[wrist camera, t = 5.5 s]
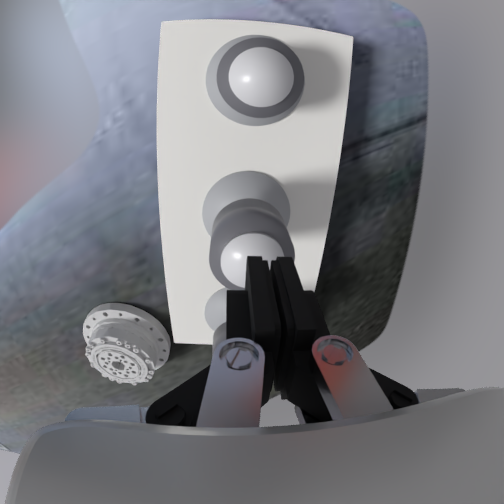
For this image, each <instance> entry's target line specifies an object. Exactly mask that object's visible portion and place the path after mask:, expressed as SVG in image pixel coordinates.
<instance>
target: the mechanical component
mask: <svg viewBox="0 0 504 504" xmlns="http://www.w3.org/2000/svg"><path fill="white" fill-rule="evenodd" d="M83 335H84V338H85V341H86V343H87V347H86V354H85V355H86V356H87V357H88V359H89V361H90V362H91V367H93V368H96V369H97V370H98V371H100V372H101V373H102V376H103V377H109V380H111V381H114V380H117V383H120V384H121V383H122V382H126V383H132V384H133V385H137V383H140V382H144V381H145V382H148V381H149V379H151V378H152V376H153V374H154V370H156V369H158V368H160V367H161V366H163V365H164V364H165V362H166V361H167V360H168V356H169V352H170V346H171V343H170V337H169V335H168V333H167V331H166V329H165V328H164V326H163V325H162V324H161V323H160V322H159V321H158V320H157V319H156V318H154V317H153V316H152V315H150V314H149V313H147V312H146V311H144V310H141V309H139V308H136V307H134V306H132V305H127V304H122V303H106V304H101V305H99V306H97V307H95V308H94V309H93V310H92V311H91V312H90V313H89V314H88V315H87V318H86V320H85V322H84V325H83Z"/></svg>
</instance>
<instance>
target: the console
mask: <svg viewBox="0 0 504 504" xmlns="http://www.w3.org/2000/svg"><path fill="white" fill-rule="evenodd" d="M257 37H264V38H270V39H274V40H277V41H279V42H281V43H283V44H285V45H286V46H288V47H289V48H290V49H291V50H292V51H293V52H294V53H295V54H296V55H297V57H298V58H299V60H300V62H301V64H302V67H303V71H304V86H303V89H302V92H301V94H300V97H299V98H298V100H297V101H296V102H295V104H294V105H293V106H292V107H290V108H289V109H288V110H286V111H285V112H283V113H281V114H279V115H276V116H273V117H269V118H253V117H249V116H245V115H243V114H241V113H239V112H237V111H235V110H234V109H232V108H231V107H230V106H229V105H228V104H227V103H226V102H225V101H224V99H223V98H222V96H221V94H220V92H219V89H218V86H217V69H218V65H219V63H220V61H221V59H222V57H223V55H224V54H225V53H226V52H227V51H228V50H229V49H230V48H231V47H232V46H234V45H235V44H237V43H239V42H241V41H243V40H246V39H250V38H257ZM352 49H353V37H352V36H348V35H344V34H339V33H335V32H330V31H325V30H320V29H314V28H308V27H302V26H295V25H288V24H280V23H271V22H260V21H247V20H220V19H202V20H176V21H162V22H161V34H160V47H159V63H158V86H157V169H158V193H159V211H160V225H161V238H162V249H163V260H164V270H165V279H166V288H167V296H168V304H169V311H170V318H171V325H172V332H173V338H174V343H187V344H213V335H214V332H215V330H216V329H217V328H218V327H219V326H220V325H221V324H223V323H224V322H226V297H227V290H230V289H228V288H226V287H225V286H223V285H222V284H221V283H220V282H219V281H218V280H217V279H216V278H215V276H214V275H213V273H212V271H211V268H210V264H209V252H210V242H211V233H212V226H213V223H214V220H215V218H216V216H217V215H218V213H219V212H220V211H221V210H222V209H223V208H224V207H225V206H227V205H228V204H230V203H232V202H234V201H237V200H240V199H246V198H253V199H259V200H263V201H265V202H267V203H269V204H271V205H272V206H274V207H275V208H276V209H277V210H278V211H279V213H280V214H281V216H282V217H283V220H284V222H285V225H286V227H287V230H288V233H289V235H290V238H291V241H292V243H293V246H294V250H295V261H294V264H295V267H296V269H297V272H298V275H299V278H300V281H301V284H302V287H303V290H312V291H313V292H315V287H316V283H317V278H318V274H319V269H320V265H321V260H322V255H323V251H324V246H325V241H326V236H327V231H328V225H329V220H330V215H331V209H332V204H333V198H334V192H335V187H336V180H337V174H338V168H339V162H340V155H341V148H342V141H343V134H344V126H345V118H346V110H347V102H348V93H349V83H350V73H351V61H352Z"/></svg>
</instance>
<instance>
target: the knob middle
mask: <svg viewBox="0 0 504 504" xmlns="http://www.w3.org/2000/svg"><path fill="white" fill-rule="evenodd" d="M247 256H262V259H263V260H268V265H269V270H270V266H271V261H272V260H276V258H277V256H278V257H292V258H293V261H295V250H294V246H293V243H292V241H291V238H290V235H289V233H288V230H287V227H286V225H285V222H284V220H283V217H282V216H281V214H280V213H279V211H278V210H277V209H276V208H275V207H274V206H272V205H271V204H269V203H267V202H265V201H263V200H259V199H253V198H246V199H240V200H237V201H234V202H232V203H230V204H228V205H227V206H225V207H224V208H223V209H222V210H221V211H220V212H219V213H218V215H217V216H216V218H215V220H214V223H213V226H212V233H211V242H210V252H209V264H210V268H211V271H212V273H213V275H214V276H215V278H216V279H217V280H218V281H219V282H220V283H221V284H222V285H223V286H225V287H226V288H228V289H230V290H245V280H246V262H247Z"/></svg>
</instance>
